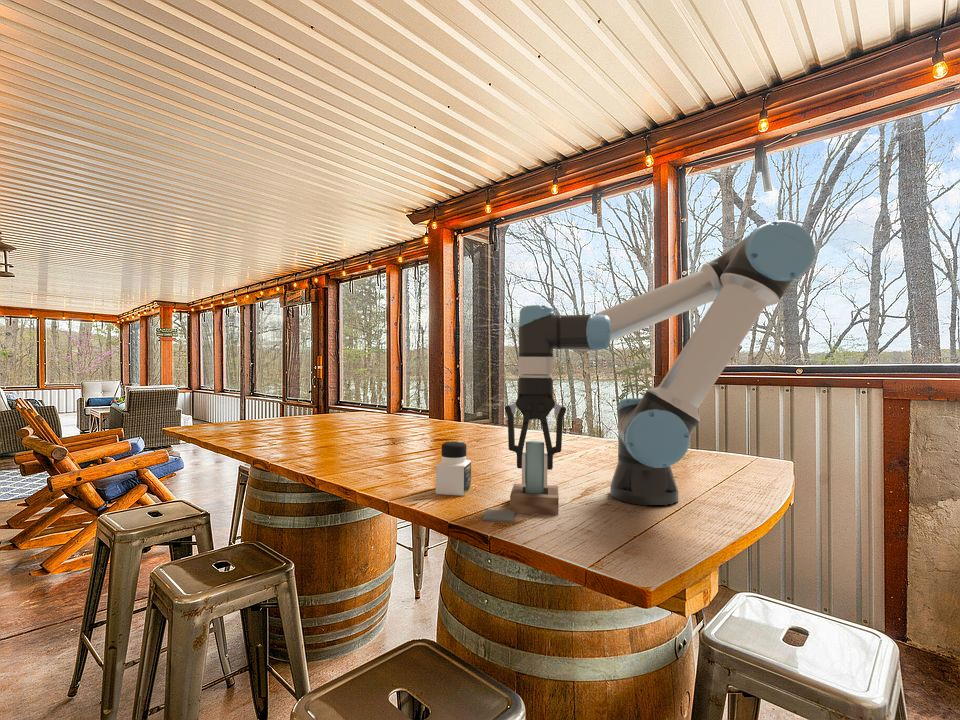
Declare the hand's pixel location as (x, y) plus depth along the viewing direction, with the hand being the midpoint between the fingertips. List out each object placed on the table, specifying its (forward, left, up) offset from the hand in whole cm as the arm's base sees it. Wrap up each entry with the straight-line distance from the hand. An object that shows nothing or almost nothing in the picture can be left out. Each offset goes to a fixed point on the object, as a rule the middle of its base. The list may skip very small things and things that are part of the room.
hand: (534, 483), depth 102 cm
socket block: (0, 0, -5) cm, 5 cm away
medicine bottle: (+20, -9, -5) cm, 22 cm away
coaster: (+7, +8, -5) cm, 12 cm away
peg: (0, 0, -5) cm, 5 cm away
